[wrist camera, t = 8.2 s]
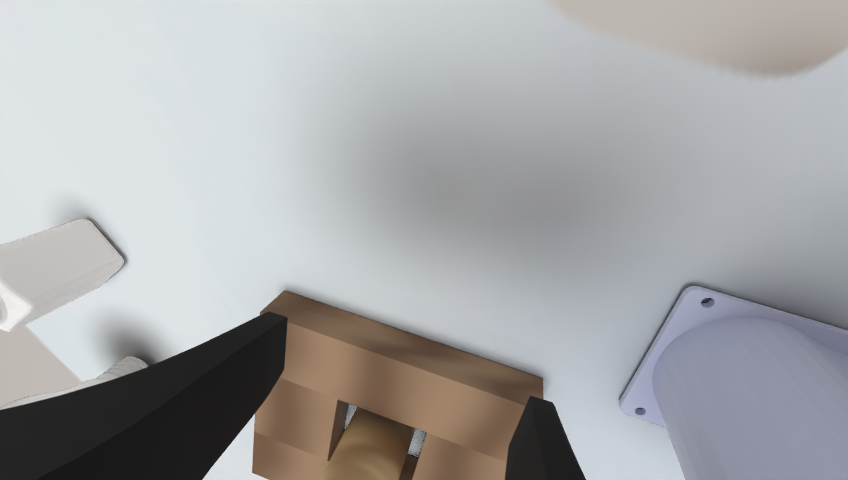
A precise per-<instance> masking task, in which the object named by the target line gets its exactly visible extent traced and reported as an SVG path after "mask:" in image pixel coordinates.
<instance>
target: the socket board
mask: <svg viewBox="0 0 848 480" xmlns="http://www.w3.org/2000/svg"><path fill="white" fill-rule="evenodd" d="M268 311H270V312H273V313H276V314H279V315H282V316H285V317H288V322H287V336H286V351H285V366H284V371H283V373H282V374H281V376H280V378H279V379H278V381H277V382H276V384H275V386H274V387H273V389H272V390H271V392H270V394H269V395H268V397H267V398H266V400H265V401H264V402H263V404H262V405H261V406H260V408H259V409H258V410H257V411H256V413H255V425H254V446H253V467H252V473H254V474H257V475H259V476H262V477H264V478H266V479H269V480H320V478H321V476H322V475H323V473H324V471H325V469H326V467H327V465H328V463H329V461H330V459H331V457H332V455H333V453H334V451H335V449H336V448H337V446H338V444H339V442H340V440H341V438H342V436H343V434H344V432H345V430H344V425H345V419H346V414H347V408H348V403H349V404H352V405H354V406H357V407H360V408H362V409H365V410H368V411H370V412H373V413H376V414H378V415H381V416H384V417H386V418H389V419H392V420H394V421H397V422H400V423H402V424H405V425H408V426H411V427H413V428H416V429H419V430H421V431H424V432H426V436H425V439H424V442H423V445H422V448H421V452H420V455H419V458H416V457H414V456H411V455H408V454H407V456H406V459H405V462H404V465H403V468H402V471H401V474H400V477H399V480H505V472H506V463H507V455H508V447H509V444H510V441H511V439H512V437H513V434H514V432H515V430H516V427H517V425H518V423H519V420H520V418H521V416H522V413H523V411H524V409H525V406H526V404H527V402H528V399H529V397H530V396H534V397H537V398H540V399H543V379H542V378H540V377H537V376H534V375H531V374H528V373H525V372H522V371H519V370H516V369H513V368H510V367H507V366H504V365H501V364H499V363H496V362H493V361H490V360H487V359H484V358H481V357H478V356H475V355H472V354H469V353H466V352H463V351H460V350H457V349H455V348H452V347H449V346H446V345H443V344H440V343H437V342H434V341H431V340H428V339H425V338H422V337H419V336H416V335H414V334H411V333H408V332H405V331H402V330H399V329H396V328H393V327H390V326H387V325H384V324H381V323H378V322H375V321H372V320H370V319H367V318H364V317H361V316H358V315H355V314H352V313H349V312H346V311H343V310H340V309H337V308H334V307H331V306H329V305H326V304H323V303H320V302H317V301H314V300H311V299H308V298H305V297H302V296H299V295H296V294H293V293H290V292H287V291H285V290H284V291H283V292H282V293H281V294H280V295H279V296H278V297H277V298H276V299H274V300H273V301H272V302H271V303H270V304H269V305H268V306H267V307H265V308H264V309H263V310H262V311H261V312H260V315H262V314H264V313H266V312H268Z"/></svg>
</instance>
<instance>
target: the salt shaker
mask: <svg viewBox="0 0 848 480" xmlns="http://www.w3.org/2000/svg"><path fill="white" fill-rule="evenodd" d="M123 264H124V261H123V258H122V256H121V255H120V254H119V253H118V252H117V251H116V249H115V248H114V247H113V246H112V245H111V244H110V243H109V241H108V240H107V239H106V238H105V237H104V236H103V235H102V234H101V232H100V231H99V230H98V229H97V228H96V227H95V226H94V224H93V223H92V222H90V221H89V220H87V219H80V220H75V221H72V222H69V223H66V224H63V225H60V226H57V227H54V228H51V229H48V230H45V231H42V232H39V233H36V234H33V235H30V236H27V237H24V238H21V239H18V240H15V241H12V242H9V243H6V244H3V245H0V329H2V330H4V331H7V332H11V331H13V330H15V329H17V328H19V327H21V326H23V325H25V324H27V323H29V322H31V321H33V320H35V319H37V318H39V317H41V316H43V315H45V314H47V313H49V312H51V311H53V310H55V309H57V308H59V307H61V306H63V305H65V304H67V303H69V302H71V301H73V300H75V299H77V298H79V297H81V296H83V295H85V294H87V293H89V292H90V291H92V290H94V289H96V288H98V287H100V286H101V285H102V284H103V283H105V282H106V281H107V280H108V279H109V278H110V277H112V276H113V275H114V274H115V273H116V272H117V271H118V270H119V269H120V268H121V267H122V266H123Z"/></svg>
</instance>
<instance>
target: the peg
mask: <svg viewBox="0 0 848 480" xmlns="http://www.w3.org/2000/svg"><path fill="white" fill-rule="evenodd" d="M414 431H415V428H413V427H411V426H408V425H405V424H402V423H400V422H397V421H394V420H392V419H389V418H386V417H384V416H381V415H378V414H376V413H373V412H370V411H368V410H365V409H362V408H360V407H357V409H356V411H355V413H354V415H353V417H352V419H351V421H350V422H349V424H348V426H347V428H346V430H345V432H344V434H343V436H342V438H341V440H340V442H339V444H338V446H337V448H336V449H335V451H334V453H333V455H332V457H331V459H330V461H329V463H328V465H327V467H326V469H325V471H324V473H323V475H322V476H321V478H320V480H399V477H400V474H401V471H402V468H403V465H404V462H405V459H406V456H407V453H408V450H409V447H410V444H411V441H412V438H413V435H414Z"/></svg>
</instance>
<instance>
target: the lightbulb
mask: <svg viewBox="0 0 848 480" xmlns="http://www.w3.org/2000/svg"><path fill="white" fill-rule="evenodd" d="M146 367H149V364H148V363H147V362H145V361H143V360H141V359H139V358H136V357H131V356H129V357H125V358H124V359H123V360H121V361H120V362H119V363H118V364H115V365H114V366H113V367H112V368H110V369H108V371H106V372H104V373H103V374H101V375H100V376H98V377H97V378H95V379H91V380H87V381H84V382H82V383H80V384H78V385H76V386H74V387H72V388H69V389H67V390H63V391H59V392H51V393H45V394H38V395H33V396H28V397H24V398H21V399H18V400H15V401H13V402H10V403H8V404H6V405H4V406H2V407H0V410H2V409H6V408H11V407H15V406H20V405H24V404H28V403H32V402H36V401H40V400H44V399H48V398H52V397H56V396H59V395H63V394H66V393H69V392H73V391H76V390H80V389H83V388H86V387H90V386H93V385H97V384H100V383H103V382H106V381H109V380H112V379H115V378H118V377H121V376H124V375H127V374H130V373H133V372H135V371H138V370H141V369H143V368H146Z"/></svg>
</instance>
